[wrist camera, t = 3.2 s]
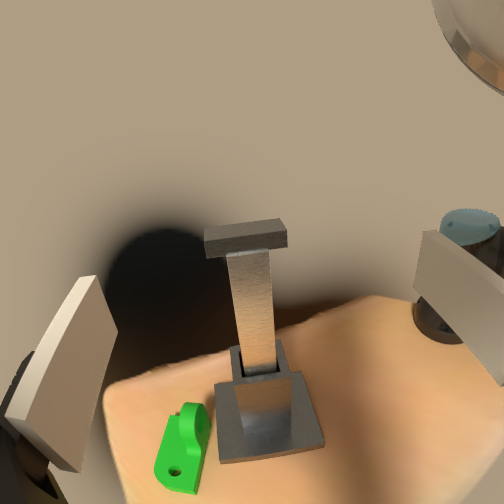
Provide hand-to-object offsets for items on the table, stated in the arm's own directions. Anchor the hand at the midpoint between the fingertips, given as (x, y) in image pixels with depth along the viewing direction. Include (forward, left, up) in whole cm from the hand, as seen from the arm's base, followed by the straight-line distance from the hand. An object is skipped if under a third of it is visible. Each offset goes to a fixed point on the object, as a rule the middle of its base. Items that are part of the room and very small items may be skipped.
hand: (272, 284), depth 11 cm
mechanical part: (+12, -10, -34) cm, 38 cm away
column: (0, -16, -32) cm, 35 cm away
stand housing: (0, -16, -34) cm, 37 cm away
